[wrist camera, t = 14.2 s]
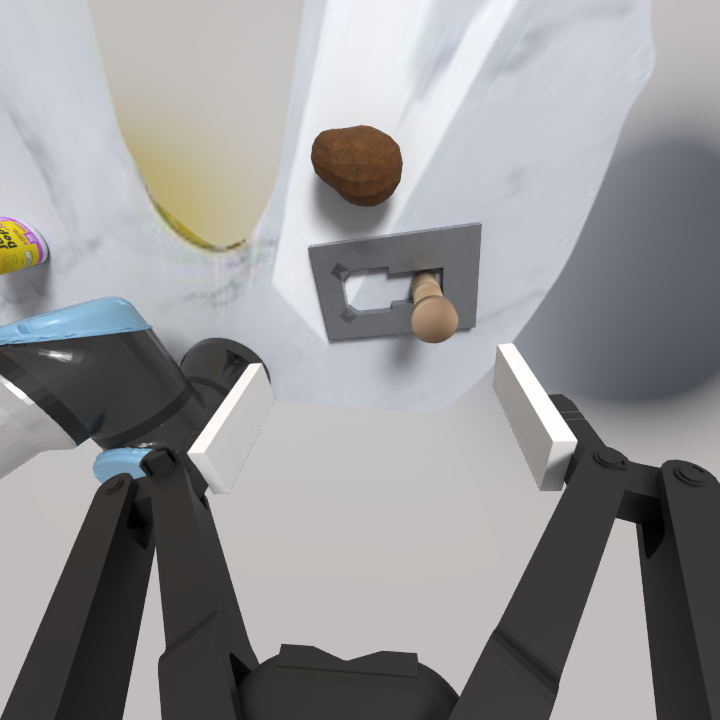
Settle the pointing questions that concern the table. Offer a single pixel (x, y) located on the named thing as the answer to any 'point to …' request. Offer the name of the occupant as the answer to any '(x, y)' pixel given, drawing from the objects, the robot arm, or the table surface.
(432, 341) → the peg
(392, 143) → the potato
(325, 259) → the keyhole plate
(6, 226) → the supplement bottle
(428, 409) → the table surface
